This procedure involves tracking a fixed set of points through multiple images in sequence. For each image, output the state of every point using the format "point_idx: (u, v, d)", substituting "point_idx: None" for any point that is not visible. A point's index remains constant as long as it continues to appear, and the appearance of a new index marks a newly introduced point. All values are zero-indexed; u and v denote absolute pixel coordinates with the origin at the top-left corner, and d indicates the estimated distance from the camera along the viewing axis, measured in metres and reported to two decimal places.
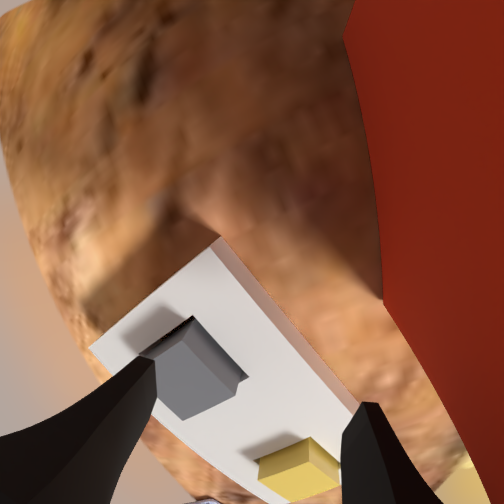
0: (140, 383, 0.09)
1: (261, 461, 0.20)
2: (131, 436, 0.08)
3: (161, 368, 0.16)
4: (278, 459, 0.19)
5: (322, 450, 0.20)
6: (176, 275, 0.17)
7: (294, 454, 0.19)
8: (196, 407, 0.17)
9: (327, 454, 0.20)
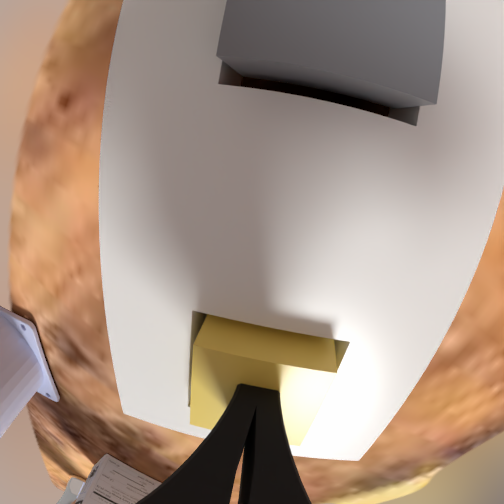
0: (254, 413, 0.08)
1: None
2: (237, 466, 0.08)
3: None
4: (258, 330, 0.10)
5: None
6: None
7: (300, 340, 0.10)
8: (309, 45, 0.05)
9: None
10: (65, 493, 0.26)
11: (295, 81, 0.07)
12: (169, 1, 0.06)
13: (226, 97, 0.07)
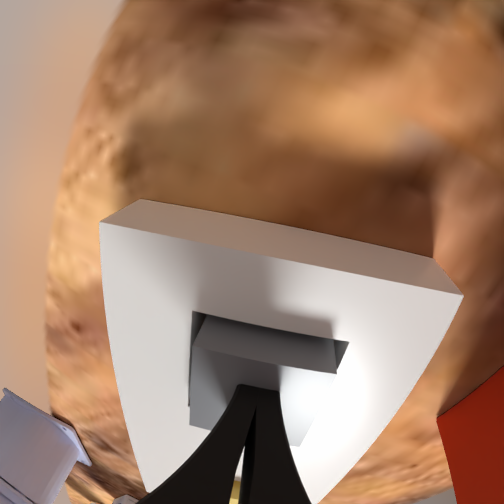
0: (254, 413, 0.08)
1: None
2: None
3: (254, 377, 0.09)
4: None
5: None
6: (398, 285, 0.09)
7: None
8: None
9: None
10: None
11: None
12: (144, 354, 0.11)
13: None
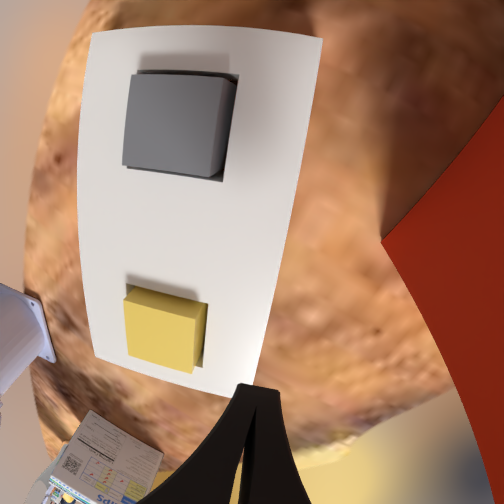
0: (254, 413, 0.08)
1: None
2: None
3: (168, 89, 0.12)
4: (160, 295, 0.18)
5: (204, 322, 0.19)
6: (265, 30, 0.11)
7: (181, 302, 0.18)
8: (154, 159, 0.13)
9: (203, 331, 0.20)
10: (58, 456, 0.33)
11: None
12: (101, 119, 0.14)
13: (130, 175, 0.15)
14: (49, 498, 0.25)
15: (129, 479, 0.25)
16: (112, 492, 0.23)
